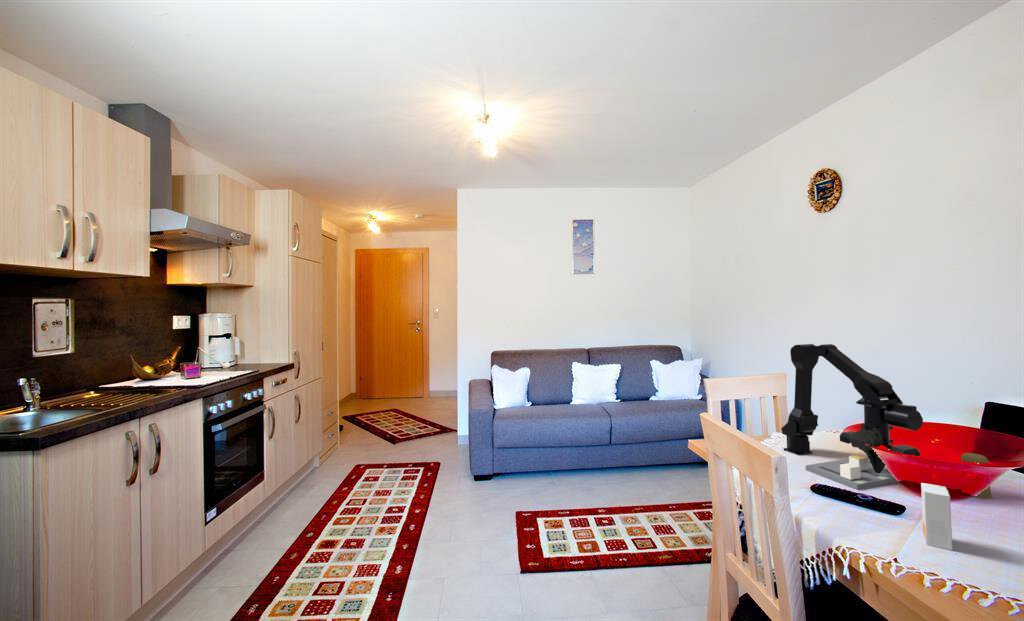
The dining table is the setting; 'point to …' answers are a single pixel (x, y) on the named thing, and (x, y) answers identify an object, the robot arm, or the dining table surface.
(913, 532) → the dining table surface
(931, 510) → the skincare box
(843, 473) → the block
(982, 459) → the cork
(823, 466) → the panel
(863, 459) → the block
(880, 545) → the dining table surface
